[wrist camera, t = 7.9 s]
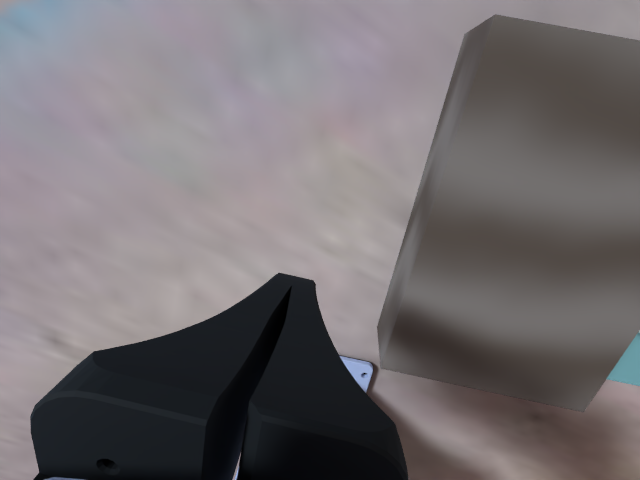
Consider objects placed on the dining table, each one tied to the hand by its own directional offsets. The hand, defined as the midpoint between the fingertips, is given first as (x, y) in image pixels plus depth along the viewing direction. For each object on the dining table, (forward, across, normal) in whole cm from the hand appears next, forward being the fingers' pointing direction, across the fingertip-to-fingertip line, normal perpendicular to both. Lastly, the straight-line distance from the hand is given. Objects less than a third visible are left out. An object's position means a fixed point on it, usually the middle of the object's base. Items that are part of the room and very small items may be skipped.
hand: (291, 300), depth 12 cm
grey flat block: (+10, -11, -2) cm, 15 cm away
